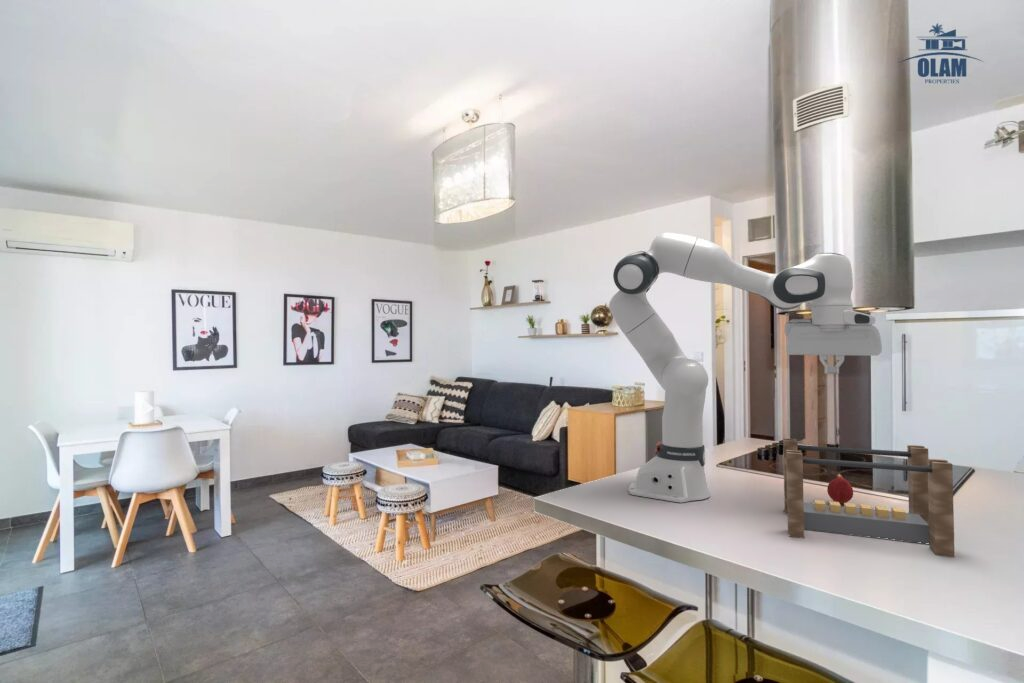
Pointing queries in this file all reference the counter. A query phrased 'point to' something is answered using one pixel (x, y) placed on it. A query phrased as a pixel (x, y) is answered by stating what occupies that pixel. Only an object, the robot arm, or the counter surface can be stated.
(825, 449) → the cord far
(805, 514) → the breaker strip
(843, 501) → the onion
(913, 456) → the cord posts
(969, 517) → the counter surface
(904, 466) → the rod
